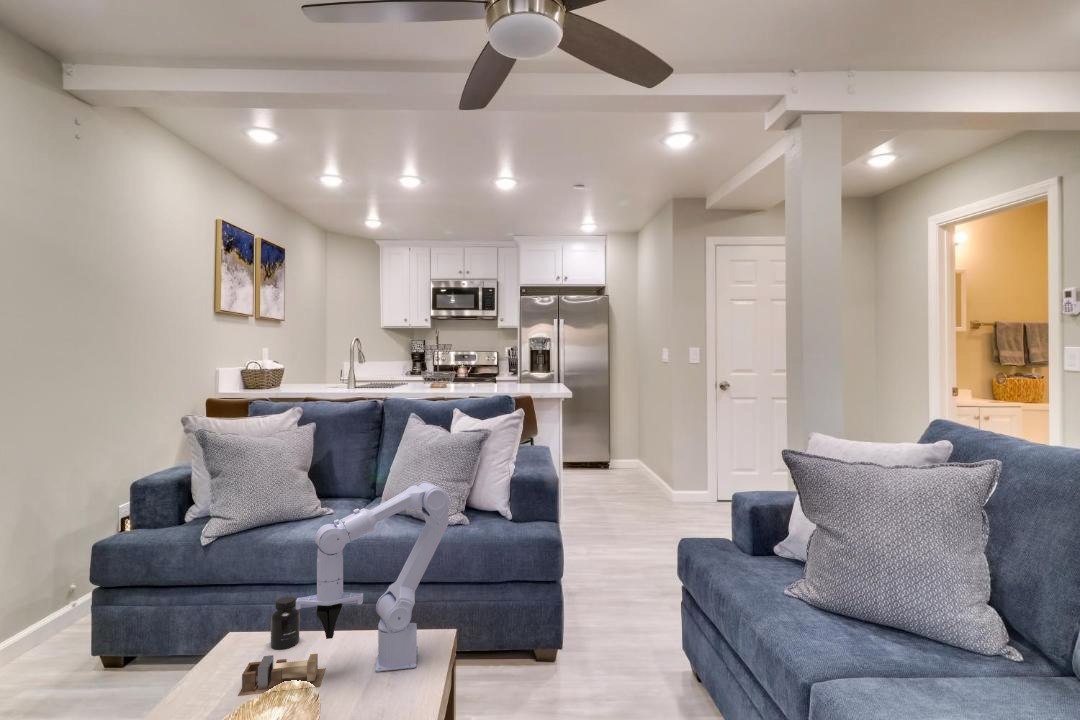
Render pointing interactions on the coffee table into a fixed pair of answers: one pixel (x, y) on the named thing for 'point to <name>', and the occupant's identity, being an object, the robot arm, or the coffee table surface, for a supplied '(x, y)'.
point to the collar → (265, 672)
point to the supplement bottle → (285, 624)
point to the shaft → (300, 668)
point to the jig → (276, 678)
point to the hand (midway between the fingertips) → (329, 636)
